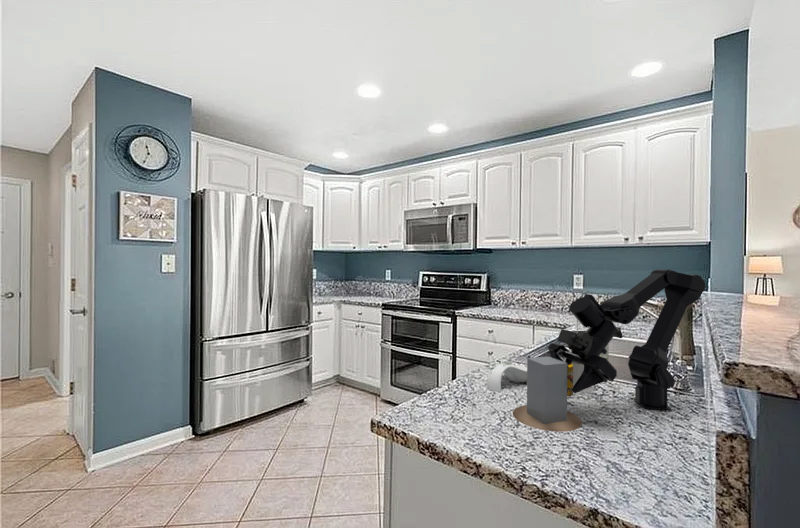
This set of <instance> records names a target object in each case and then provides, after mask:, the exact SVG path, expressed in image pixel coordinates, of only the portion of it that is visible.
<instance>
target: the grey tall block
mask: <svg viewBox="0 0 800 528" xmlns="http://www.w3.org/2000/svg"><path fill="white" fill-rule="evenodd" d="M526 360H527V361H526V362H527V364H526V367H527V382H526V405H527V414H529V415H530V416H532V417H534V418H535V419H537V420H538V421H540V422H542V423H543V424H547V423H554V422H561V421H567V411H568V396H567V363H566V362H563V361H560V360H557V359H555V358H552V357H551V356H539V357H527V359H526Z"/></svg>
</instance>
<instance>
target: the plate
mask: <svg viewBox="0 0 800 528" xmlns="http://www.w3.org/2000/svg"><path fill="white" fill-rule="evenodd" d="M512 416H513V417H514V418H515V420H517V422H519V423H522V425H525V426H528V427H531V428H533V429H537V430H542V431H548V432H558V433H559V432H562V433H563V432H572V431H575V430H578V429H580V428H581V426H582V425H583V424H582V423H583V422H582V419H581V418H580V417H579V416H577V415H576V414H575V413H573V412H571V411H569V410H567V421H561V422H554V423H547V424H543V423H542V422H540V421H538V420H537V419H535V418H534V417H532V416H530V415H529V414H527V404H526V405H520V406H518V407H516V408H515V409H513V411H512Z"/></svg>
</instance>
